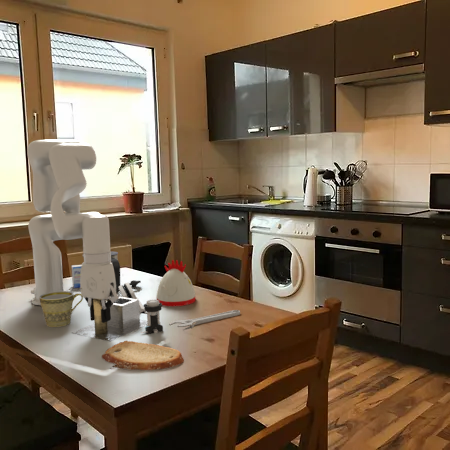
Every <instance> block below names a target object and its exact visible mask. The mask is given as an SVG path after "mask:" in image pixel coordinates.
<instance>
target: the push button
mask: <svg viewBox="0 0 450 450" xmlns="http://www.w3.org/2000/svg"><path fill="white" fill-rule="evenodd" d="M143 307H144V308H145V311H146V312H147V314H146V319H147V320H146V321H147V325H145V326H144V329H145V331H140V333H141V334H144V333H145V334H147V335H151V334H158V333H160V332H163V331H164V326H163V325H162V324H161V322H160V311H161V310H162V309H163V305H162V303H159V301H158V300H157V299H149V300H147V301H146V303H144V304H143Z"/></svg>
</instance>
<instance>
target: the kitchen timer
mask: <svg viewBox="0 0 450 450" xmlns="http://www.w3.org/2000/svg"><path fill="white" fill-rule="evenodd" d="M183 264H184V263H183V260H180V263H179V260H178V259H176V260H174V259H172V260H171V262H167V265H168V267H167V265H164V269H165V271H166V273H165V274H164V275H163V276H162V277H161V280H160V281H159V284H158V288H157V290H156V299H155V300H158V301H159V303H162V307H163V306H164V307H181V306H187V305H190V304H194V303H195V302H196V292H195V288H194V286H193V283H192V280H191V279H190V277H189V276H188V274H186V272H185V269H186V266H187V264H186V263H185V264H184V265H183Z"/></svg>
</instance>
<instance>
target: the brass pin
mask: <svg viewBox="0 0 450 450" xmlns="http://www.w3.org/2000/svg"><path fill="white" fill-rule="evenodd" d="M93 305H94V320H93V322H94V323H93V324H95V334H105V333H107V332H108V327H107V322H105V323H102V321H101V309H103V308H102V302H101V300H100V299H93Z"/></svg>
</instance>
